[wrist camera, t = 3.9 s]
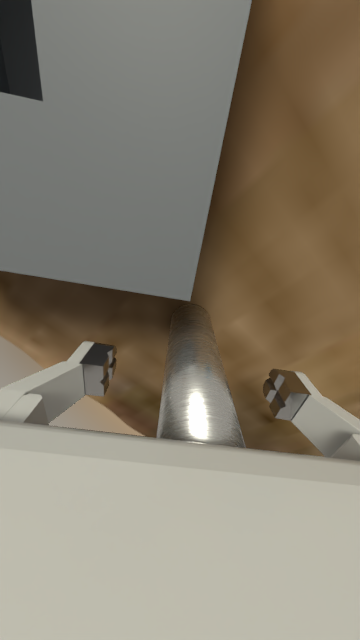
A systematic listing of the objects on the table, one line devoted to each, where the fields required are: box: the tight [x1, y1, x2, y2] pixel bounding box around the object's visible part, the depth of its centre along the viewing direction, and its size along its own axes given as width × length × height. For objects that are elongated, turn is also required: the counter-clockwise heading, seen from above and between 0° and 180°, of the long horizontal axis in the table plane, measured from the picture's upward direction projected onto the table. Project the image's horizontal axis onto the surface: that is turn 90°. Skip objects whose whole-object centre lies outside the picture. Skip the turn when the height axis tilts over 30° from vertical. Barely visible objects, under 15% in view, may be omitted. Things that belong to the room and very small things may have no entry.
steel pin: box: [157, 304, 246, 448], centre depth 10 cm, size 3×3×10 cm
